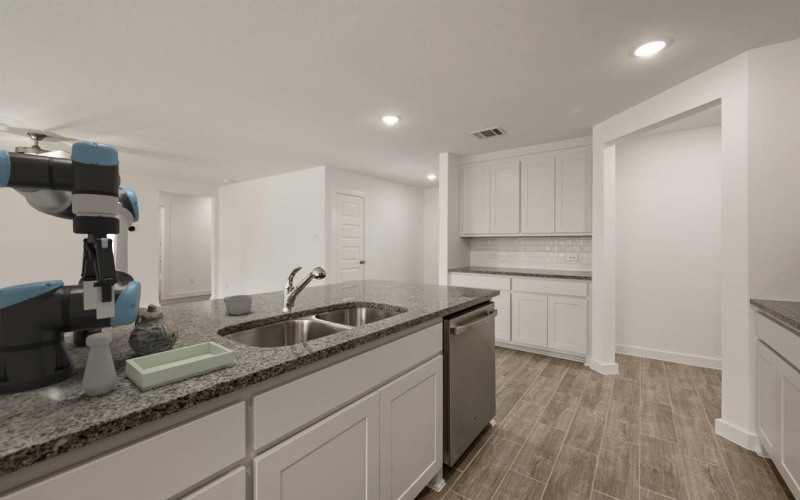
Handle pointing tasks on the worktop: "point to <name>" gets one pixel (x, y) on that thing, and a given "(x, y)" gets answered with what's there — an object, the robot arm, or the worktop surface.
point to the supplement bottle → (83, 336)
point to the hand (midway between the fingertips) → (98, 313)
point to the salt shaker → (99, 366)
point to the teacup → (238, 304)
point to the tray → (178, 364)
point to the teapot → (152, 332)
